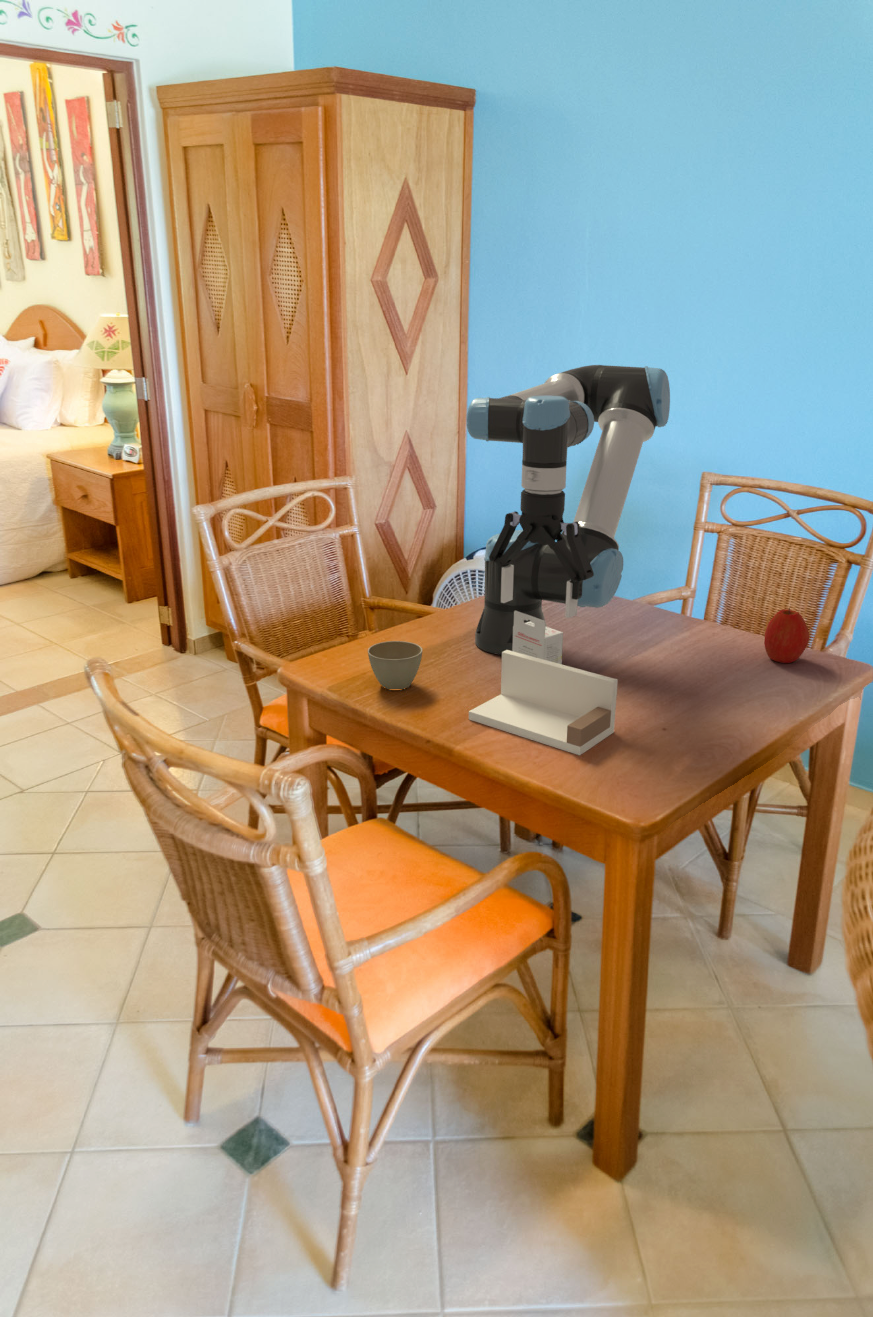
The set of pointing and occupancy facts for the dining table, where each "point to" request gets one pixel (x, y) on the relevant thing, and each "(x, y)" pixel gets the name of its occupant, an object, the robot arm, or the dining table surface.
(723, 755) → the dining table surface
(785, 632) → the apple
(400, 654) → the flower pot
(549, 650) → the ink box
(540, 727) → the shelf
